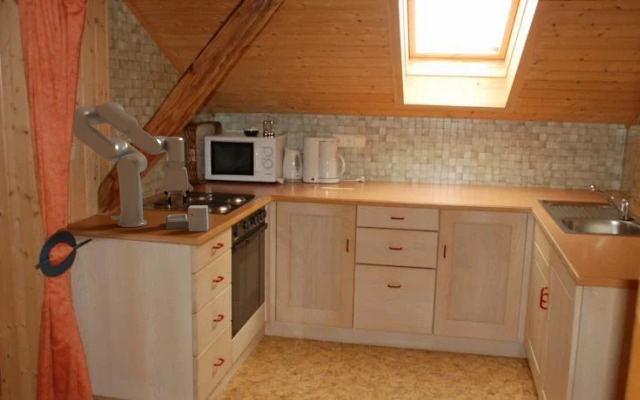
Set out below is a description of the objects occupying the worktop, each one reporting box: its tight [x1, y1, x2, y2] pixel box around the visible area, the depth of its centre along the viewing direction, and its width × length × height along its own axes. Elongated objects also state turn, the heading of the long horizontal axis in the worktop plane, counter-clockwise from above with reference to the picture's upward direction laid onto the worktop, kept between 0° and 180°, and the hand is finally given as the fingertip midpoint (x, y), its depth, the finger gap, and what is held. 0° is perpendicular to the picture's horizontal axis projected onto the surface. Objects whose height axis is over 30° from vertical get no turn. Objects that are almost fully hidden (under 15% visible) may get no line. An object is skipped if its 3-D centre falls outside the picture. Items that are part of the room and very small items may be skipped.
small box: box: [187, 204, 210, 232], centre depth 267 cm, size 8×6×10 cm
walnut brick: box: [170, 192, 184, 209], centre depth 273 cm, size 5×7×6 cm
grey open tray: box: [165, 213, 189, 230], centre depth 275 cm, size 10×12×4 cm
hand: (177, 204), depth 274 cm, fingers closed on walnut brick, 5 cm apart
